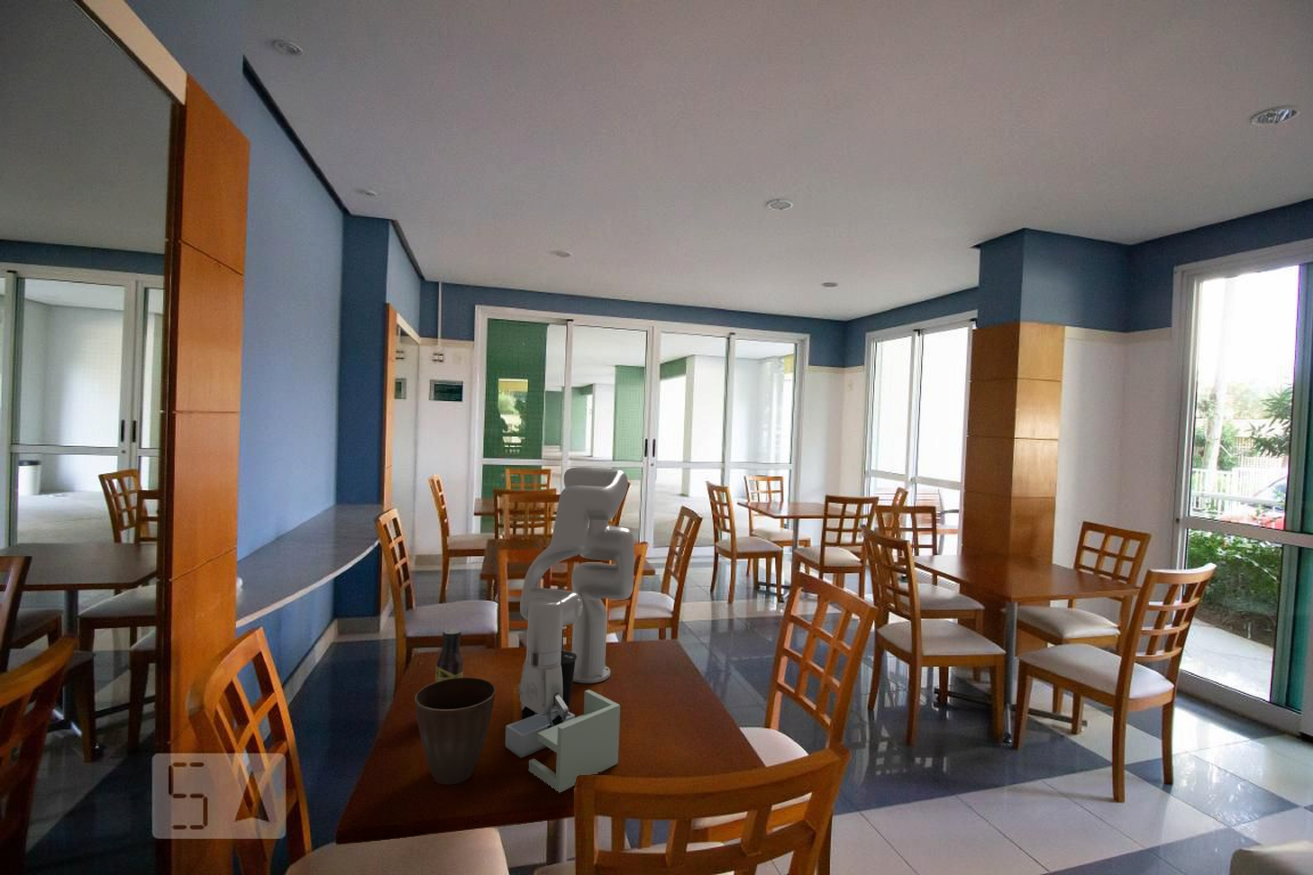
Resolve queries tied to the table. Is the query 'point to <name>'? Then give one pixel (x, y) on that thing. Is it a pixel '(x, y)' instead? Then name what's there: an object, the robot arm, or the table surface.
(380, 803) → the table surface
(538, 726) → the tray
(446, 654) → the sauce bottle
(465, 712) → the plant pot
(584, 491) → the robot arm
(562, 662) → the drinking cup
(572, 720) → the shelf slot
